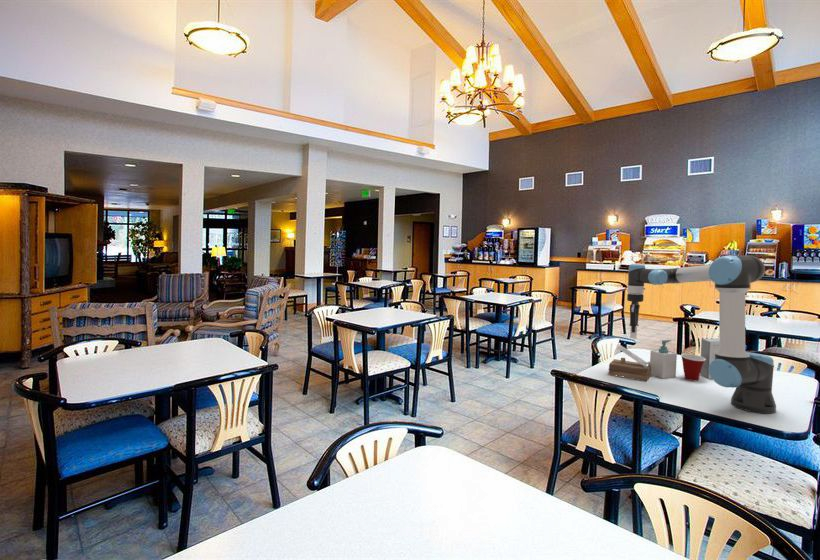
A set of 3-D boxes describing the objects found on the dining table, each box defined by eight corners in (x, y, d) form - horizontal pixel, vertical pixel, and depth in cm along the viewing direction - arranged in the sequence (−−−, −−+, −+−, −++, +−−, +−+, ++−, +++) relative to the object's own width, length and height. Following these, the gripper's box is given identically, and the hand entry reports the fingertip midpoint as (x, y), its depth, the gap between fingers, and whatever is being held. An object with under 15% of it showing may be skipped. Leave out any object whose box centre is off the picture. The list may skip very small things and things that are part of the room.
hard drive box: (730, 375, 230) (732, 338, 228) (739, 380, 222) (742, 341, 221) (699, 374, 231) (701, 337, 230) (707, 379, 224) (709, 341, 222)
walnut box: (647, 381, 220) (647, 364, 219) (608, 374, 231) (609, 358, 230) (651, 375, 230) (651, 359, 229) (613, 369, 241) (614, 354, 240)
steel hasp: (646, 368, 223) (648, 366, 222) (616, 348, 231) (618, 346, 230) (648, 365, 227) (649, 363, 227) (619, 346, 235) (620, 344, 235)
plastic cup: (700, 383, 216) (701, 360, 215) (676, 378, 225) (677, 355, 224) (707, 379, 223) (709, 356, 222) (684, 374, 231) (685, 352, 230)
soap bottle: (676, 377, 227) (677, 341, 226) (662, 378, 225) (664, 342, 223) (662, 372, 235) (664, 337, 234) (649, 373, 233) (650, 338, 231)
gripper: (641, 295, 219) (638, 341, 221) (645, 292, 229) (643, 336, 231) (625, 294, 223) (622, 339, 225) (630, 291, 234) (628, 335, 236)
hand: (633, 338), depth 228 cm, fingers closed
